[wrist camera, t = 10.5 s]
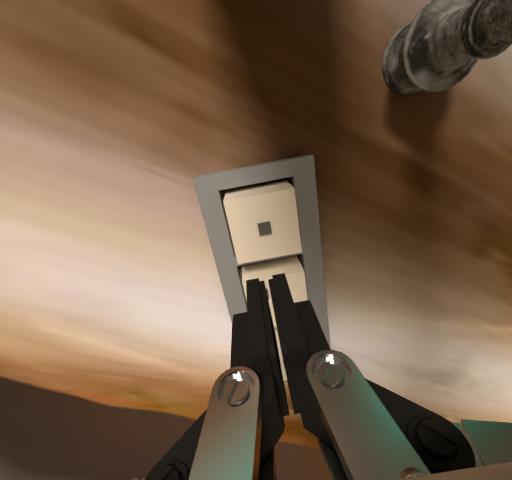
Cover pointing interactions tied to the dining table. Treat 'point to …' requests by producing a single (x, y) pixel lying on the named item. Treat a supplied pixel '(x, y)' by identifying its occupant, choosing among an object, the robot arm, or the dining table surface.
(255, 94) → the dining table surface
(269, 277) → the tile two
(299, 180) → the board
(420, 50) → the grey turned candlestick
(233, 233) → the tile one
